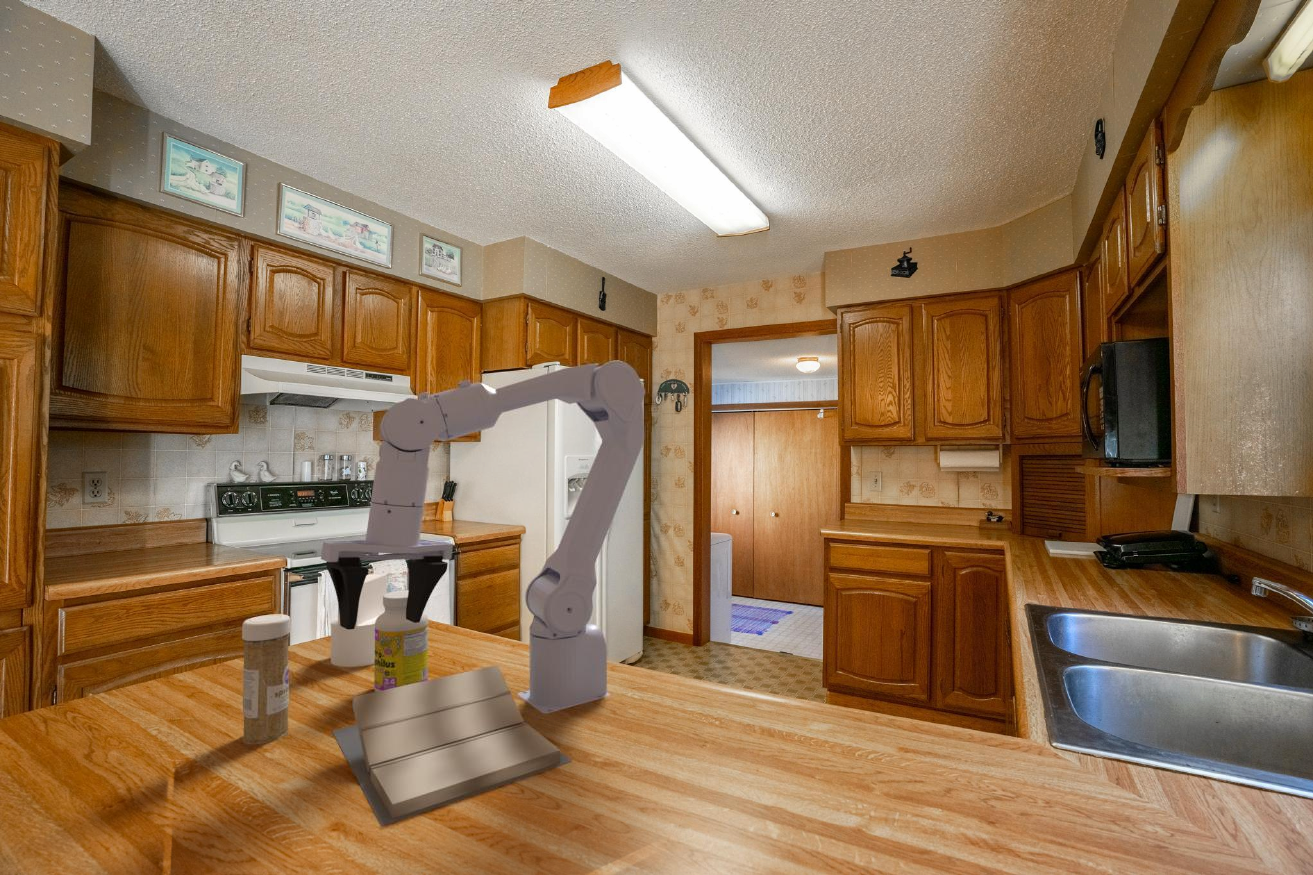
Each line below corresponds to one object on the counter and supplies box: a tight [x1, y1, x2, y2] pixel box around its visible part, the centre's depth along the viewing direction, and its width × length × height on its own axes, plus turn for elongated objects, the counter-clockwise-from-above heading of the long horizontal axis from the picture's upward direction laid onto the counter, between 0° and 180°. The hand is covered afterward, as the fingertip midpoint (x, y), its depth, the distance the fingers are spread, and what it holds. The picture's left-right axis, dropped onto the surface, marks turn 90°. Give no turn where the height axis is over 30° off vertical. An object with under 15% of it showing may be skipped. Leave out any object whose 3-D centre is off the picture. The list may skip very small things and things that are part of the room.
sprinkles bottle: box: [241, 613, 291, 745], centre depth 70 cm, size 5×5×14 cm
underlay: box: [331, 724, 572, 827], centre depth 67 cm, size 18×22×1 cm
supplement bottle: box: [373, 589, 429, 692], centre depth 84 cm, size 7×7×13 cm
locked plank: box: [371, 722, 561, 818], centre depth 61 cm, size 16×8×1 cm, turn 127°
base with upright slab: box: [330, 573, 388, 668], centre depth 98 cm, size 9×9×12 cm
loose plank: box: [351, 664, 525, 773], centre depth 68 cm, size 16×8×1 cm, turn 127°
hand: (381, 623), depth 71 cm, fingers open, 7 cm apart
